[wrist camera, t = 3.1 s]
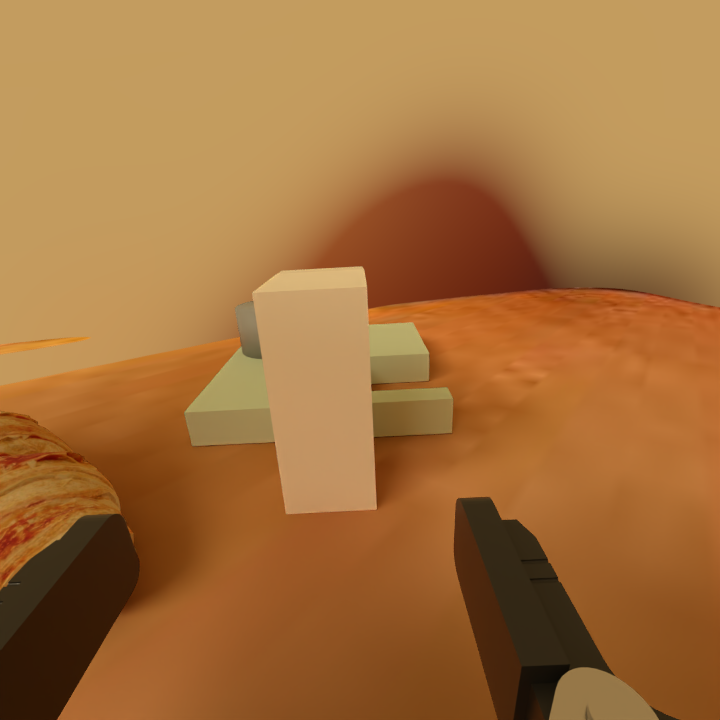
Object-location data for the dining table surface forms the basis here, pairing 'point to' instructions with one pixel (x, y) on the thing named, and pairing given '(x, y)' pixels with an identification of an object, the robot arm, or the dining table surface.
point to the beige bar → (319, 387)
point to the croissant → (42, 491)
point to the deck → (251, 405)
